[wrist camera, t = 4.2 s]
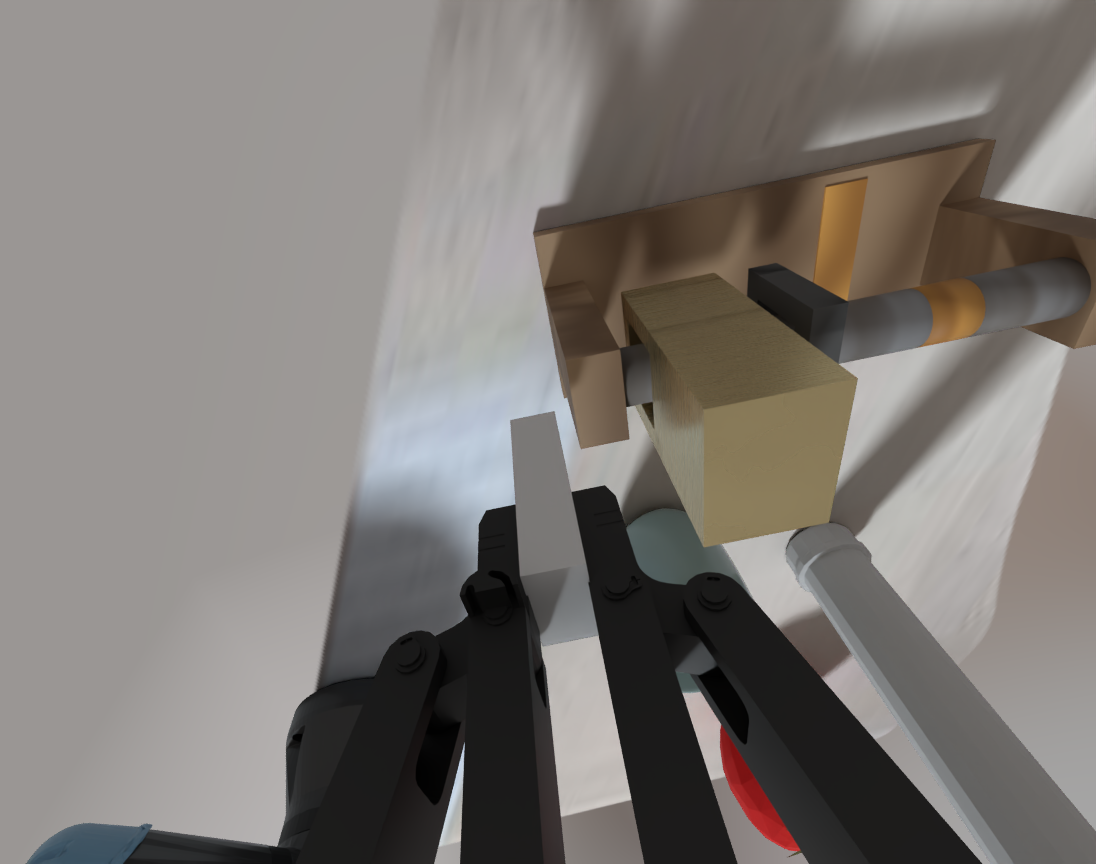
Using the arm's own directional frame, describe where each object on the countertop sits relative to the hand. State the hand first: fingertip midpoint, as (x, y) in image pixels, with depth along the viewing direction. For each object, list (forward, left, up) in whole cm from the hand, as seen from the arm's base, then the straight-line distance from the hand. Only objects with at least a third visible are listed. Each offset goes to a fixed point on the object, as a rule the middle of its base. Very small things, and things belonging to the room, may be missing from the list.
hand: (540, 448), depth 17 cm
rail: (+12, 0, -12) cm, 17 cm away
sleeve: (+6, 0, -6) cm, 9 cm away
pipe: (+19, -23, -12) cm, 32 cm away
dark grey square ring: (+10, 0, -6) cm, 12 cm away
